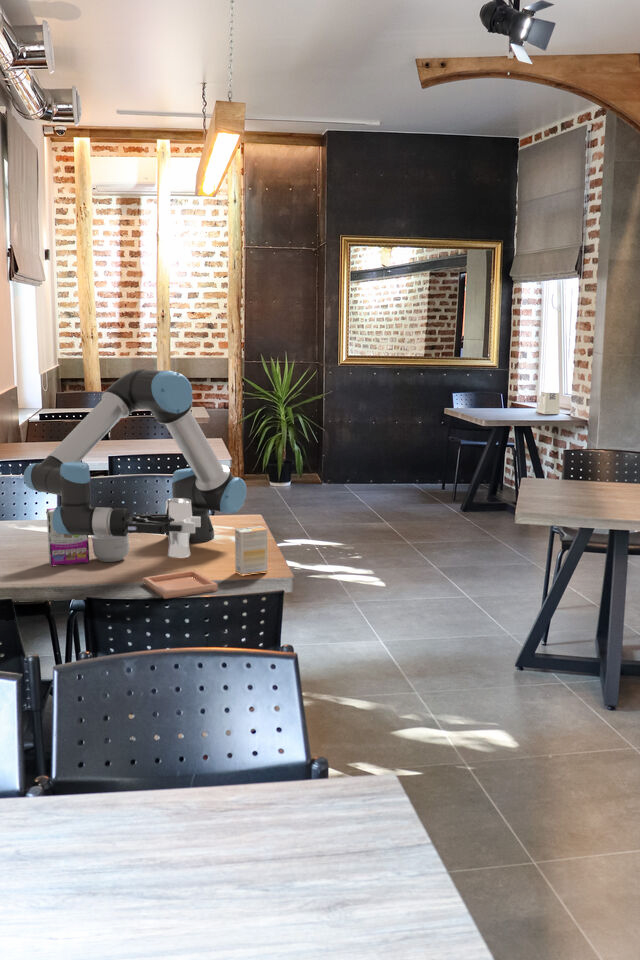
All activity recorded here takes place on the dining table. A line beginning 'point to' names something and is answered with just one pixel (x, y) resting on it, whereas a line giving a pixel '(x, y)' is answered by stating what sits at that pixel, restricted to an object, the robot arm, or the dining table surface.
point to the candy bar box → (66, 546)
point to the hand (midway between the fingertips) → (197, 524)
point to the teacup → (110, 547)
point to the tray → (180, 584)
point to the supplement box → (251, 550)
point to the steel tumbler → (178, 513)
